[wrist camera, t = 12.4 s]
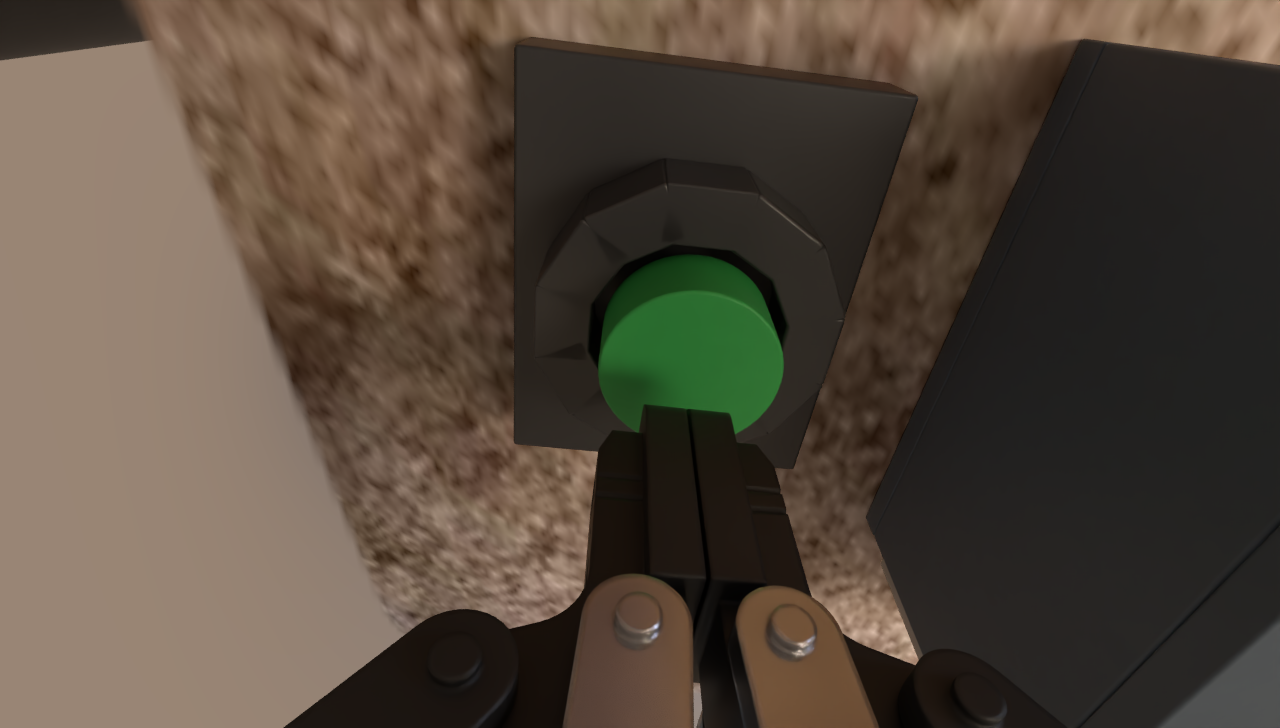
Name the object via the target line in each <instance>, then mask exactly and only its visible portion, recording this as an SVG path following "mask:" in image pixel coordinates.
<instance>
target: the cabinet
mask: <svg viewBox="0 0 1280 728" xmlns="http://www.w3.org/2000/svg"><path fill="white" fill-rule="evenodd" d="M866 519H867V521H868V524H869V526H870V529H871V531H872V533H873V535H875V539H876V542H877V544H878V547H879V549H880V552H881V554H882V556H883V559H884V561H885V564H886V566H887V569H888V571H889V574H890V576H891V578H892V581H893V583H894V586H895V588H896V591H897V593H898V596H899V598H900V601H901V603H902V605H903V608H904V610H905V613H906V615H907V618H908V620H909V623H910V625H911V628H912V630H913V632H914V635H915V637H916V640H917V642H918V645H919V647H920V650H921V652H922V654H923V655H925V654H926V653H928V652H930V651H932V650H936V649H954V650H959V651H962V652H966V653H969V654H971V655H973V656H975V657H977V658H980V659H981V660H983V661H985V662H986V663H988V664H990V665H991V666H992V667H994V668H995V669H996V670H998V671H999V672H1000V673H1002V674H1003V675H1004V676H1005V677H1006V678H1008V679H1009V680H1010V681H1011V682H1012V683H1014V684H1015V685H1016V686H1017V687H1019V688H1020V689H1021V690H1022V691H1023V692H1025V693H1026V694H1027V695H1028V696H1030V697H1031V698H1032V699H1033V700H1034V701H1036V702H1037V703H1038V704H1039V705H1041V706H1042V707H1043V708H1044V709H1045V710H1047V711H1048V712H1049V713H1050V714H1052V715H1053V716H1054V717H1055V718H1056V719H1058V720H1059V721H1060V722H1061V723H1062V724H1064V725H1065V726H1066V727H1067V728H1280V65H1274V64H1266V63H1259V62H1251V61H1244V60H1237V59H1229V58H1222V57H1215V56H1207V55H1200V54H1192V53H1185V52H1178V51H1170V50H1163V49H1156V48H1148V47H1141V46H1133V45H1126V44H1119V43H1111V42H1104V41H1096V40H1089V39H1083V40H1081V42H1080V44H1079V46H1078V48H1077V51H1076V53H1075V55H1074V57H1073V60H1072V62H1071V64H1070V66H1069V68H1068V71H1067V73H1066V75H1065V77H1064V79H1063V82H1062V84H1061V86H1060V88H1059V91H1058V93H1057V95H1056V97H1055V99H1054V102H1053V104H1052V106H1051V108H1050V110H1049V113H1048V115H1047V117H1046V119H1045V122H1044V124H1043V126H1042V128H1041V130H1040V133H1039V135H1038V137H1037V139H1036V142H1035V144H1034V146H1033V148H1032V150H1031V153H1030V155H1029V157H1028V159H1027V161H1026V164H1025V166H1024V168H1023V170H1022V173H1021V175H1020V177H1019V179H1018V181H1017V184H1016V186H1015V188H1014V190H1013V193H1012V195H1011V197H1010V199H1009V201H1008V204H1007V206H1006V208H1005V210H1004V212H1003V215H1002V217H1001V219H1000V221H999V224H998V226H997V228H996V230H995V232H994V235H993V237H992V239H991V241H990V243H989V246H988V248H987V250H986V252H985V255H984V257H983V259H982V261H981V263H980V266H979V268H978V270H977V272H976V275H975V277H974V279H973V281H972V283H971V286H970V288H969V290H968V292H967V294H966V297H965V299H964V301H963V303H962V306H961V308H960V310H959V312H958V314H957V317H956V319H955V321H954V323H953V326H952V328H951V330H950V332H949V334H948V337H947V339H946V341H945V343H944V345H943V348H942V350H941V352H940V354H939V357H938V359H937V361H936V363H935V365H934V368H933V370H932V372H931V374H930V377H929V379H928V381H927V383H926V385H925V388H924V390H923V392H922V394H921V396H920V399H919V401H918V403H917V405H916V408H915V410H914V412H913V414H912V416H911V419H910V421H909V423H908V425H907V427H906V430H905V432H904V434H903V436H902V439H901V441H900V443H899V445H898V447H897V450H896V452H895V454H894V456H893V459H892V461H891V463H890V465H889V467H888V470H887V472H886V474H885V476H884V478H883V481H882V483H881V485H880V487H879V490H878V492H877V494H876V496H875V498H874V501H873V503H872V505H871V507H870V510H869V512H868V514H867V516H866Z"/></svg>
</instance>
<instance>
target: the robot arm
mask: <svg viewBox="0 0 1280 728" xmlns="http://www.w3.org/2000/svg"><path fill="white" fill-rule="evenodd" d="M780 491H781V489H780V485H779V482H778V478H777V475H776V471H775V468H774V465H773V464H772V463H771V462H770V460H769V459H768V458H767V457H766V455H765V454H764V453H763V452H762V451H761V449H760V448H759V447H758V446H757V445H756V444H746V443H737V441H736V436H735V432H734V427H733V423H732V418H731V415H730V414H729V413H726V412H716V411H707V410H697V409H687V411H686V409H685V408H677V407H667V406H658V405H648V404H644V406H643V410H642V415H641V421H640V427H639V433H637V432H627V431H617V430H612V431H611V433H610V434H609V435H608V437H607V438H606V439H605V441H604V442H603V444H602V445H601V446H600V448H599V450H598V458H597V465H596V473H595V481H594V489H593V496H592V504H591V512H590V524H589V537H588V548H587V560H586V571H585V583H584V589H583V591H582V593H581V595H580V596H579V597H578V598H577V600H576V601H575V602H574V603H573V604H572V605H571V606H570V607H569V608H567V609H566V610H565V611H563V612H561V613H560V614H558V615H556V616H554V617H552V618H550V619H547V620H544V621H541V622H537V623H533V624H529V625H525V626H520V627H516V628H512V629H508V628H507V627H506V626H505V625H504V623H502V622H501V621H500V620H498V619H497V618H496V617H494V616H492V615H490V614H488V613H484V612H481V611H478V610H470V609H458V610H452V611H446V612H443V613H440V614H437V615H435V616H433V617H430V618H428V619H426V620H425V621H423V622H422V623H420V624H419V625H417V626H416V627H415V628H413V629H412V630H411V631H409V632H408V633H407V634H405V635H404V636H403V637H401V638H400V639H399V640H398V641H396V642H395V643H394V644H392V645H391V646H390V647H388V648H387V649H386V650H384V651H383V652H382V653H381V654H379V655H378V656H377V657H375V658H374V659H373V660H371V661H370V662H369V663H367V664H366V665H365V666H364V667H362V668H361V669H360V670H358V671H357V672H356V673H354V674H353V675H352V676H351V677H349V678H348V679H347V680H345V681H344V682H343V683H341V684H340V685H339V686H337V687H336V688H335V689H333V690H332V691H331V692H330V693H328V694H327V695H326V696H324V697H323V698H322V699H320V700H319V701H318V702H316V703H315V704H314V705H313V706H311V707H310V708H309V709H307V710H306V711H305V712H303V713H302V714H301V715H299V716H298V717H297V718H296V719H294V720H293V721H292V722H290V723H289V724H288V725H286V726H285V727H284V728H694V707H693V706H694V705H693V704H694V703H693V682H694V683H700V688H701V699H702V712H701V715H700V718H699V720H698V724H697V728H1067V727H1066V726H1065V725H1064V724H1062V723H1061V722H1060V721H1059V720H1058V719H1056V718H1055V717H1054V716H1053V715H1052V714H1050V713H1049V712H1048V711H1047V710H1045V709H1044V708H1043V707H1042V706H1041V705H1039V704H1038V703H1037V702H1036V701H1034V700H1033V699H1032V698H1031V697H1030V696H1028V695H1027V694H1026V693H1025V692H1023V691H1022V690H1021V689H1020V688H1019V687H1017V686H1016V685H1015V684H1014V683H1012V682H1011V681H1010V680H1009V679H1008V678H1006V677H1005V676H1004V675H1003V674H1002V673H1000V672H999V671H998V670H996V669H995V668H994V667H992V666H991V665H990V664H988V663H986V662H985V661H983V660H981V659H980V658H977V657H975V656H973V655H971V654H969V653H966V652H962V651H959V650H954V649H936V650H932V651H930V652H928V653H926V654H925V655H923V656H922V657H921V658H920V660H919V661H918V662H917V664H916V665H913V664H910V663H908V662H905V661H903V660H900V659H897V658H895V657H892V656H889V655H887V654H884V653H882V652H879V651H876V650H874V649H871V648H869V647H866V646H864V645H862V644H859V643H857V642H856V641H854V640H852V639H850V638H849V637H847V636H846V635H844V634H843V633H842V631H841V629H840V627H839V625H838V623H837V622H836V620H835V619H834V617H833V616H832V615H831V613H830V612H829V611H828V610H827V609H826V608H825V607H824V606H823V605H822V604H821V603H819V602H818V601H817V600H815V599H814V598H812V596H811V593H810V590H809V587H808V584H807V580H806V577H805V573H804V570H803V566H802V563H801V559H800V556H799V552H798V549H797V545H796V541H795V538H794V534H793V531H792V527H791V524H790V520H789V517H788V514H786V506H785V503H784V499H783V496H782V494H780Z"/></svg>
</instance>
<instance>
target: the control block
mask: <svg viewBox="0 0 1280 728" xmlns="http://www.w3.org/2000/svg"><path fill="white" fill-rule="evenodd" d="M917 101H918V96H917V95H915V94H913V93H910V92H908V91H906V90H904V89H901V88H899V87H897V86H895V85H892V84H890V83H885V82H877V81H870V80H862V79H854V78H846V77H839V76H831V75H823V74H815V73H807V72H800V71H792V70H784V69H776V68H769V67H761V66H753V65H745V64H738V63H730V62H722V61H714V60H707V59H699V58H691V57H683V56H676V55H668V54H660V53H652V52H644V51H637V50H629V49H621V48H613V47H606V46H598V45H590V44H582V43H575V42H567V41H559V40H551V39H544V38H536V37H530V38H527V39H526V40H524V41H522V42H520V43H518V44H516V45H515V48H514V443H515V444H520V445H531V446H542V447H553V448H564V449H575V450H586V451H597V452H598V450H599V448H600V446H601V445H602V444H603V442H604V441H605V439H606V438H607V437H608V435H609V434H610V433H611V431H612V430H617V431H627V432H635V431H634V430H632V429H631V428H629V427H628V426H627V425H626V424H624V423H623V422H622V421H621V420H620V419H619V418H618V417H617V416H616V415H615V414H614V413H613V411H612V410H611V408H610V407H609V405H608V404H607V402H606V400H605V398H604V396H603V394H602V391H601V387H600V384H599V377H598V362H599V354H600V346H601V337H602V329H603V322H604V316H605V312H606V309H607V306H608V303H609V301H610V299H611V297H612V295H613V294H614V292H615V291H616V290H617V288H618V287H619V286H620V285H621V283H622V282H623V281H624V280H625V279H626V278H627V277H629V276H630V275H631V274H632V273H633V272H635V271H636V270H638V269H640V268H641V267H643V266H645V265H647V264H649V263H651V262H653V261H656V260H659V259H662V258H665V257H670V256H675V255H686V254H691V255H703V256H709V257H713V258H716V259H719V260H722V261H725V262H727V263H729V264H731V265H733V266H735V267H736V268H738V269H739V270H741V271H742V272H743V273H744V274H746V275H747V276H748V277H749V278H750V279H751V280H752V281H753V282H754V284H755V285H756V286H757V288H758V289H759V291H760V292H761V294H762V296H763V298H764V300H765V303H766V305H767V308H768V311H769V313H770V316H771V319H772V322H773V324H774V327H775V330H776V332H777V335H778V338H779V341H780V344H781V347H782V351H783V359H784V368H783V376H782V381H781V384H780V387H779V390H778V392H777V394H776V396H775V398H774V400H773V402H772V403H771V405H770V406H769V407H768V409H767V410H766V411H765V412H764V413H763V414H762V415H761V416H760V417H759V418H758V419H757V420H756V421H755V422H754V423H752V424H751V425H750V426H748V427H747V428H745V429H744V430H742V431H740V432H739V433H737V434H735V436H736V441H737V443H746V444H756V445H757V446H758V447H759V448H760V449H761V451H762V452H763V453H764V454H765V455H766V457H767V458H768V459H769V460H770V462H771V463H772V464H773V465H774V468H783V469H793V468H794V466H795V463H796V460H797V457H798V454H799V451H800V448H801V445H802V442H803V439H804V436H805V433H806V430H807V427H808V424H809V421H810V418H811V415H812V412H813V409H814V406H815V403H816V400H817V397H818V394H819V391H820V389H821V388H822V384H823V383H824V380H825V377H826V374H827V371H828V368H829V365H830V362H831V360H832V357H833V354H834V351H835V348H836V345H837V342H838V339H839V336H840V333H841V330H842V327H843V324H844V321H845V319H844V318H845V315H846V311H847V308H848V306H849V303H850V300H851V297H852V294H853V291H854V288H855V285H856V282H857V279H858V276H859V273H860V270H861V267H862V264H863V261H864V258H865V255H866V252H867V249H868V246H869V243H870V240H871V237H872V234H873V231H874V229H875V226H876V223H877V220H878V217H879V214H880V211H881V208H882V205H883V202H884V199H885V196H886V193H887V190H888V187H889V184H890V181H891V178H892V175H893V172H894V169H895V166H896V163H897V160H898V157H899V154H900V151H901V149H902V146H903V143H904V140H905V137H906V134H907V131H908V128H909V125H910V122H911V119H912V116H913V113H914V110H915V107H916V104H917Z"/></svg>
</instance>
